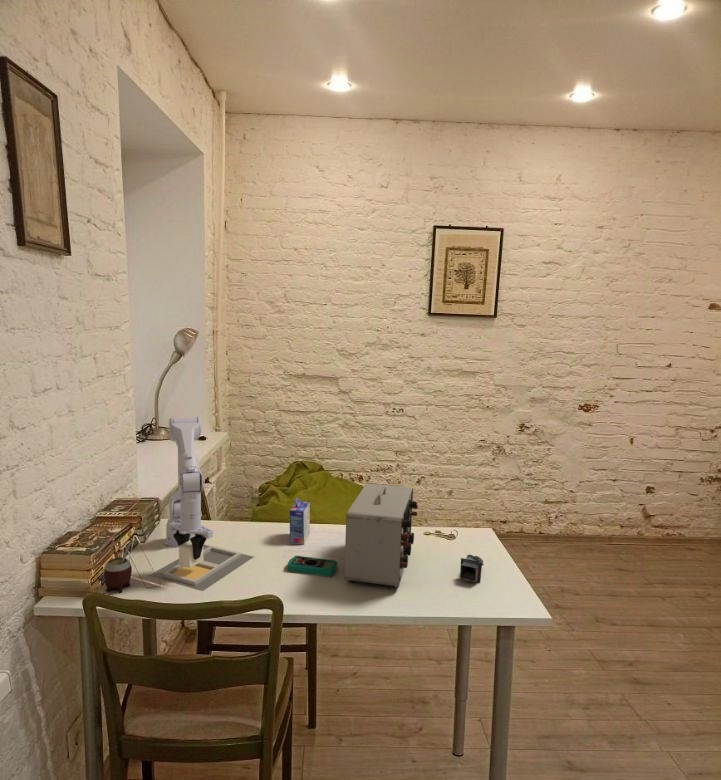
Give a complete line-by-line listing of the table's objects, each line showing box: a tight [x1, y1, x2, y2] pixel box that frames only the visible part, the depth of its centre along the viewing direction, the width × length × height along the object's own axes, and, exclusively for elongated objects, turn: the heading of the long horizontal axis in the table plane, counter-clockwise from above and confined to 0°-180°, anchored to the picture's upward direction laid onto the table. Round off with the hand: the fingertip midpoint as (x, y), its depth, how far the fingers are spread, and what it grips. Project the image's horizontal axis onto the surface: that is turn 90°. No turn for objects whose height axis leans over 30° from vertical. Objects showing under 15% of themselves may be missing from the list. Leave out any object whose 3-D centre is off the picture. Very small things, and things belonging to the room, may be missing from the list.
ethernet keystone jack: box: [459, 554, 485, 584], centre depth 166 cm, size 6×13×6 cm, turn 158°
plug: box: [178, 540, 203, 568], centre depth 159 cm, size 4×7×6 cm, turn 157°
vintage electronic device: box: [343, 483, 418, 589], centre depth 169 cm, size 32×18×25 cm, turn 168°
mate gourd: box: [103, 538, 138, 594], centre depth 149 cm, size 8×8×15 cm
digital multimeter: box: [286, 555, 338, 578], centre depth 166 cm, size 7×15×3 cm, turn 78°
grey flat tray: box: [148, 544, 254, 592], centre depth 164 cm, size 20×25×2 cm
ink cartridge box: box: [289, 497, 311, 545], centre depth 188 cm, size 10×6×14 cm, turn 174°
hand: (190, 556), depth 158 cm, fingers closed on plug, 4 cm apart
